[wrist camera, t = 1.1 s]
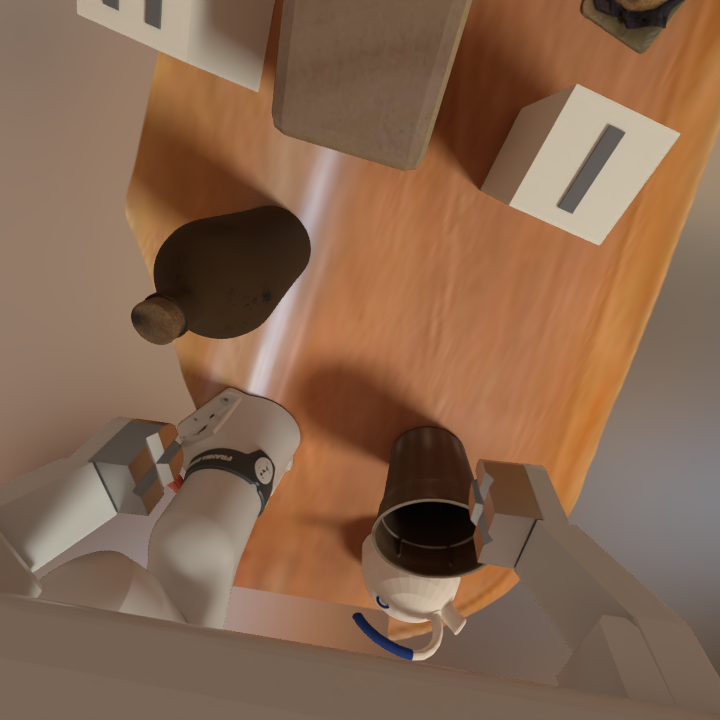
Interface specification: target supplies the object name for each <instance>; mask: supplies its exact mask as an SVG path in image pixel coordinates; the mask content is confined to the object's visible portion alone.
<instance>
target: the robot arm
mask: <svg viewBox="0 0 720 720" xmlns="http://www.w3.org/2000/svg"><path fill="white" fill-rule="evenodd" d="M226 398H227V399H226ZM177 431H178V432H177ZM178 435H179V437H180V439H181V441H182V443H181V444H179V443H177V442H176V441H175V439H176V437H177V436H178ZM299 443H300V431H299V428H298V425H297V423H296V422H295V420H294V419H293V417H292V416H291V415H290V414H289V413H288V412H287V411H286V410H285V409H283V408H282V407H281V406H279V405H278V404H276V403H274V402H272V401H269V400H267V399H263V398H259V397H254V396H249V395H246V394H244V393H242V392H240V391H238V390H236V389H234V388H227V389H226V390H224V391H223V392H221V393H220V394H219V395H217V396H216V397H214V398H213V399H212V400H210V401H209V402H207V403H206V404H205V405H203V406H202V407H201V408H199V409H198V410H196V411H195V412H194V413H192V414H191V415H189V416H188V417H187V418H185V419H184V420H183V421H181V422H180V423H179V425H178V426H177V430H176V427H175V425H173V424H170V423H164V422H157V421H150V420H143V419H133V418H126V417H117V418H114V419H112V420H111V421H110V422H109V423H107V425H105V426H104V427H103V428H102V429H101V430H100V431H98V432H97V433H96V434H95V435H94V436H93V437H92V438H91V439H89V440H88V441H87V442H86V443H85V444H84V445H83V446H82V447H81V448H79V449H78V450H77V451H76V452H75V453H74V454H72V455H71V456H70V457H69V458H68V459H59V460H57V461H55V462H52V463H50V464H48V465H45V466H43V467H41V468H38V469H36V470H34V471H31V472H29V473H27V474H25V475H22V476H20V477H17V478H15V479H13V480H11V481H8V482H6V483H3V484H1V485H0V720H720V678H719V677H718V675H717V673H716V671H715V670H714V668H713V666H712V665H711V663H710V661H709V659H708V658H707V656H706V654H705V652H704V651H703V649H702V647H701V646H700V644H699V642H698V640H697V639H696V637H695V635H694V634H693V632H692V630H691V628H690V627H689V625H687V624H686V623H685V622H684V621H683V620H682V619H681V618H680V617H679V616H677V615H676V614H675V613H674V612H673V611H672V610H671V609H670V608H668V607H667V606H666V605H665V604H664V603H663V602H662V601H661V600H660V599H658V598H657V597H656V596H655V595H654V594H653V593H652V592H651V591H649V590H648V589H647V588H646V587H645V586H644V585H643V584H642V583H641V582H639V581H638V580H637V579H636V578H635V577H634V576H633V575H632V574H630V573H629V572H628V571H627V570H626V569H625V568H624V567H623V566H622V565H620V564H619V563H618V562H617V561H616V560H615V559H614V558H613V557H611V556H610V555H609V554H608V553H607V552H606V551H605V550H604V549H603V548H601V547H600V546H599V545H598V544H597V543H596V542H595V541H594V540H593V539H591V538H590V537H589V536H588V535H587V534H586V533H585V532H583V531H582V530H581V529H580V528H579V527H578V526H577V525H573V524H569V522H568V519H567V517H566V515H565V512H564V510H563V508H562V505H561V503H560V501H559V499H558V496H557V494H556V492H555V489H554V487H553V485H552V482H551V480H550V478H549V475H548V473H547V471H546V469H545V468H544V467H543V466H541V465H531V464H522V463H521V464H519V463H511V462H502V461H493V460H483V459H480V460H479V461H478V463H477V466H476V469H475V471H476V476H477V479H476V480H474V481H473V482H472V483H471V488H470V492H469V513H470V519H471V521H472V522H473V523H474V524H475V526H476V529H475V532H474V535H473V538H474V544H475V550H476V556H477V562H478V563H483V564H489V565H495V566H501V567H507V568H513V569H515V570H514V571H515V573H516V574H517V575H518V577H519V578H520V580H521V581H522V582H523V584H524V585H525V586H526V588H527V589H528V591H529V592H530V593H531V595H532V596H533V598H534V599H535V600H536V602H537V603H538V605H539V606H540V607H541V609H542V610H543V611H544V613H545V614H546V616H547V617H548V618H549V620H550V621H551V623H552V624H553V625H554V627H555V628H556V629H557V631H558V632H559V634H560V635H561V636H562V638H563V639H564V640H565V642H566V644H567V645H568V646H569V648H570V649H571V650H572V652H573V655H572V656H571V657H570V659H569V660H568V661H567V663H566V664H565V666H564V667H563V668H562V669H561V671H560V672H559V673H558V675H557V676H556V677H557V681H558V685H559V686H555V685H549V684H542V683H537V682H531V681H525V680H519V679H513V678H507V677H501V676H495V675H489V674H483V673H477V672H472V671H465V670H459V669H454V668H448V667H442V666H436V665H430V664H423V663H418V662H412V661H406V660H401V659H394V658H389V657H383V656H377V655H371V654H365V653H359V652H353V651H347V650H341V649H335V648H329V647H323V646H317V645H312V644H306V643H299V642H294V641H288V640H282V639H276V638H270V637H264V636H259V635H252V634H246V633H240V632H235V631H228V630H223V627H224V623H225V617H226V613H227V608H228V604H229V599H230V595H231V590H232V586H233V581H234V578H235V574H236V570H237V567H238V564H239V561H240V558H241V556H242V553H243V551H244V548H245V546H246V543H247V541H248V539H249V536H250V534H251V531H252V529H253V527H254V524H255V522H256V519H257V518H258V517H259V516H260V515H261V514H262V512H263V510H264V509H265V506H267V504H268V500H269V497H270V496H271V495H272V494H273V492H274V491H275V489H276V487H277V485H278V483H279V481H280V480H281V478H282V476H283V474H284V472H285V471H288V470H290V468H291V466H292V464H293V454H294V453H295V451H296V450H297V448H298V446H299ZM182 467H183V468H184V469H185V471H186V474H185V477H184V480H183V479H182V477H181V476H180V474H179V473H180V471H181V468H182ZM166 485H168V486H169V487H171V488H172V489H173V490H174V492H175V493H176V495H175V496H174V497H173V499H172V500H171V502H170V503H169V505H168V506H167V507H166V509H165V510H164V512H163V513H162V515H161V516H160V518H159V519H158V520H157V522H156V523H155V525H154V528H153V530H152V532H151V535H150V539H149V546H148V564H147V570H146V569H145V568H143V567H142V566H141V565H139V564H138V563H136V562H135V561H133V560H132V559H130V558H129V557H127V556H125V555H124V554H122V553H120V552H116V551H97V552H93V553H89V554H85V555H82V556H79V557H77V558H75V559H72V560H70V561H68V562H66V563H64V564H62V565H60V566H59V567H57V568H56V569H54V570H52V571H50V572H49V573H48V574H46V575H45V576H43V577H42V578H41V579H40V580H38V579H37V577H36V576H35V575H34V574H33V572H34V571H36V570H37V569H39V568H40V567H41V566H43V565H44V564H46V563H47V562H49V561H50V560H52V559H53V558H55V557H56V556H58V555H59V554H60V553H62V552H63V551H65V550H66V549H68V548H69V547H71V546H72V545H73V544H75V543H76V542H77V541H79V540H81V539H82V538H84V537H85V536H86V535H88V534H89V533H91V532H92V531H94V530H95V529H97V528H98V527H99V526H101V525H102V524H103V523H105V522H106V521H108V520H110V519H111V518H112V517H114V516H115V515H116V514H117V512H118V513H127V514H137V515H146V516H149V514H150V513H151V512H152V510H153V509H154V508H155V506H156V505H157V504H158V502H159V501H160V499H161V498H162V496H163V495H164V486H166Z"/></svg>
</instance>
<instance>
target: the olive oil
mask: <svg viewBox="0 0 720 720" xmlns="http://www.w3.org/2000/svg"><path fill="white" fill-rule="evenodd" d="M310 253H311V246H310V240H309V236H308V233H307V231H306V229H305V227H304V226H303V224H302V223H301V222H300V220H299V219H298V218H297V217H296V216H294V215H293V214H292V213H290V212H289V211H287V210H285V209H283V208H280V207H275V206H264V207H259V208H255V209H251V210H247V211H243V212H237V213H232V214H227V215H222V216H216V217H211V218H205V219H200V220H196V221H192V222H189V223H187V224H185V225H183V226H181V227H180V228H178V229H177V230H176V231H174V232H173V233H172V234H171V235H170V236H169V237H168V238H167V240H166V241H165V242H164V243H163V245H162V246H161V248H160V250H159V252H158V254H157V256H156V260H155V264H154V283H155V288H156V291H157V292H156V293H154V294H152V295H150V296H148V297H147V298H146V299H145V300H144V301H143V302H141V303H139V304H137V305H136V306H135V307H134V308H133V310H132V313H131V319H132V323H133V326H134V327H135V329H136V331H137V332H138V333H139V334H140V335H141V336H142V337H143V338H144V339H146V340H147V341H149V342H151V343H154V344H158V345H164V344H168V343H170V342H172V341H173V340H174V339H176V338H178V337H181V336H182V335H184V334H185V333H186V332H187V331H188V330H190V331H192V332H194V333H196V334H198V335H201V336H204V337H208V338H215V339H227V338H234V337H238V336H241V335H244V334H246V333H249V332H251V331H253V330H254V329H256V328H258V327H259V326H260V325H261V324H263V323H264V322H265V321H266V320H267V318H268V317H269V316H270V315H271V313H272V312H273V310H274V309H275V308H276V306H277V305H278V303H279V302H280V301H281V299H282V298H283V297H284V295H285V294H286V292H287V291H288V290H289V288H290V287H291V286H292V284H293V283H294V282H295V281H296V279H297V278H298V277H299V276H300V275H301V273H302V272H303V271H304V269H305V268H306V266H307V264H308V262H309V258H310Z"/></svg>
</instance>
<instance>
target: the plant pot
mask: <svg viewBox="0 0 720 720" xmlns="http://www.w3.org/2000/svg"><path fill="white" fill-rule="evenodd" d="M473 481H474V477H473V474H472V471H471V468H470V465H469V462H468V459H467V456H466V452H465V449H464V447H463V444H462V442H461V441H460V440H459V439H458V438H457V437H454V436H453V435H451V434H450V433H449V432H448V431H446V430H444V429H440V428H435V427H421V428H415V429H412V430H410V431H407V432H405V433H404V434H403V435H402V436H401V437H400V438H399V439H398V440H397V441H396V442H395V443H394V445H393V448H392V452H391V459H390V465H389V470H388V476H387V481H386V487H385V492H384V497H383V500H382V502H381V504H380V507H379V512H378V517H377V518H376V520H375V522H374V524H373V527H372V531H371V540H372V544H373V546H374V549H375V550H376V552H377V553H378V555H379V556H380V557H381V558H382V559H383V560H384V561H385V562H387V563H388V564H389V565H391V566H392V567H394V568H396V569H398V570H400V571H402V572H404V573H407V574H410V575H414V576H418V577H423V578H438V579H448V578H457V577H461V576H465V575H469V574H471V573H474V572H476V571H478V570H480V569H482V568H484V567H485V566H486V565H488V564H483V563H478V562H477V556H476V550H475V544H474V538H473V535H474V532H475V529H476V526H475V524H474V523H473V522H472V521H471V519H470V513H469V492H470V488H471V483H472V482H473Z"/></svg>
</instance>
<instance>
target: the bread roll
mask: <svg viewBox="0 0 720 720" xmlns="http://www.w3.org/2000/svg"><path fill="white" fill-rule="evenodd" d="M684 2H685V0H584V2H583V3H582V7H581V14H582V15H583V16H584V17H586V18H588V19H590V20H591V21H593V22H594V23H595V24H597V25H598V26H599V27H601V28H602V29H604V30H605V31H606V32H608V33H609V34H611V35H613V36H614V37H615V38H617V39H618V40H620V41H621V42H622V43H624V44H625V45H627V46H628V47H629V48H631V49H633V50H634V51H635V52H637V53H639V54H642V53H644V52H645V51H646V50H647V49H648V48H649V47H650V46H651V45H652V43H653V42H654V41H655V40H656V39H657V37H658V36H659V35H660V33H661V32H662V31H663V29H664V28H666V25H667V24H668V23H669V21H670V20H671V19H672V17H673V16H674V15H675V14H676V12H677V11H678V10H679V8H680V7H681V5H682V4H683V3H684Z"/></svg>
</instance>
